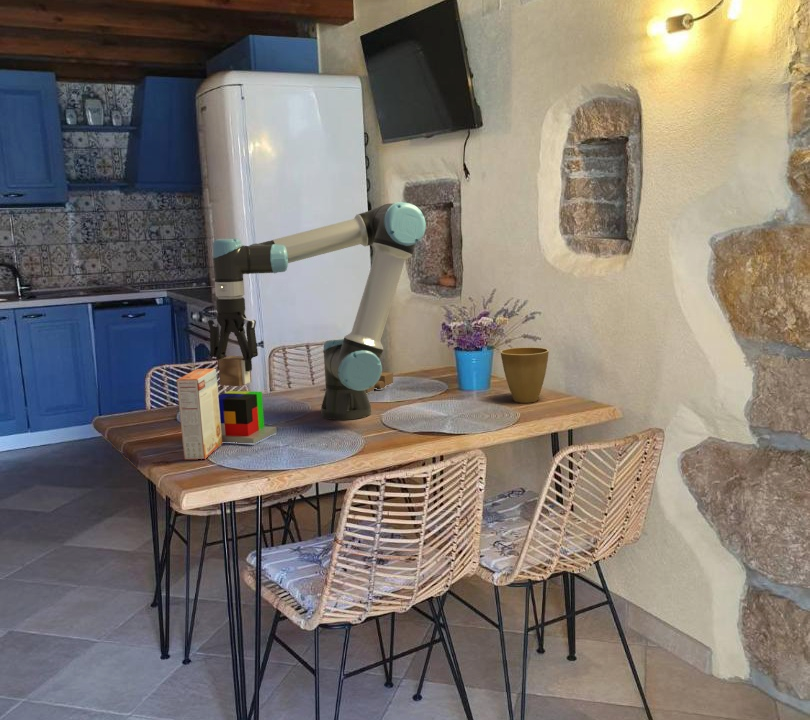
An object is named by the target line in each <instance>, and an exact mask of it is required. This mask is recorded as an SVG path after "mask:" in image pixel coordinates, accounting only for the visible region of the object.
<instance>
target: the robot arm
mask: <svg viewBox="0 0 810 720" xmlns="http://www.w3.org/2000/svg"><path fill="white" fill-rule="evenodd" d="M426 223H427V222H426V218H425V216H424V214H423V212H422V211H421V209H420V208H419V207H417V206H416V205H414V204H413V203H409V202H405V201H399V202H393V203H385V204H381V205H379V206H377V207H375V208H373V209H370V210H367V211H365V212H364V211H363V212H361V213H358V214H356V215H355V216H354V217H353V218H351V219H348V220H344V221H341V222H336V223H332V224H329V225H324V226H321V227H317V228H312V229H310V230H305V231H302V232H298V233H294V234H290V235H286V236H282V237H278V238H275V239H271V240H268V241H263V242H259V243H252V244H249V245H243V244H242V240H241V239H240V238H218V239H215V240H213V242H212V264H213V276H214V291H215V297H217V299H216V300H215V307H216V312H217V316H216V318H214V319H210V320H208V321H207V324H208V327H209V338H210V339H209V345H210V347H209V348H210V349H209V350H210V351H209V353H210V356H211V357H214V358H216V359H217V369H218V370H219V361H218V360H219V359H222V358H226V357H227V355H226V352H227V348H228V344H229V338H230V335H231V333H233V334H234V336H235V338H236V339H237V343H238V346H239V350H240V352H241V355H242V356H243V359H242V360H241V366H242V381H243V384H244V385H247V384H251V382H250V371H251V372H252V370H253V362H252V359H254V358H256V357H258V355H259V353H258V351H259V350H258V343H257V335H256V326H257V325H256V324H257V321H256V320H255V319H249V318H247V316H246V313H245V312H246V300H245V297H244V296H245V283H244V275H250V274H251V275H253V274H278V273H284V272H286V271H287V270H288V267H289V264H290V263H294V262H297V261H301V260H306V259H310V258H313V257H317V256H320V255H325V254H328V253H332V252H336V251H340V250H344V249H348V248H351V247H356V246H358V245H362V246H363V247H368V246H373V247H374V250H375V254H374V257H373V260H372V263H371V266H370V270H369V273H368V275H367V280H366V283H365V286H364V289H363V292H362V297H361V299H360V302H359V306H358V310H357V313H356V316H355V320H354V322H353V325H352V330H351V332H350V333H348V334H346V335H344V338H341V339H330V340H325V342H324V343H323V351H322V353H323V364H324V365H323V366H324V380H325V381H324V382H325V391H324V396H323V400H322V404H321V407H320V408H321V409H320V415H321V417H322V418H324V419H327V420H335V421H337V420H338V421H340V420H341V421H343V420H346V421H347V420H356V419H363V418H365V417H368V416H370V415H371V414H372V405H371V403H370V400H369V397H368V395H367V394H366V391H365V390H367V389H369V388H371V387H373V386H374V385H375V384H376V383H377V382H378V380H379V379H380V376H381V373H382V372H383V367H382V362H381V359H382V356H383V351H384V346H383V344H382V341H381V340H382V336H383V333H384V331H385V327H386V324H387V320H388V317H389V314H390V311H391V307H392V305H393V301H394V298H395V294H396V291H397V288H398V284H399V282H400V278H401V275H402V272H403V268H404V265H405V262H406V261H407V260H408V259H409V258H411V257H413V254H414V250H415V247H416V244H417V243H419V242H420V241H421V240H422V239H423V238H424V235H425V233H426V230H427V229H426V226H427V224H426ZM219 326H220V327H219ZM244 326H245V327H244Z"/></svg>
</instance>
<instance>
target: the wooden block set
mask: <svg viewBox="0 0 810 720" xmlns="http://www.w3.org/2000/svg"><path fill="white" fill-rule="evenodd" d="M391 383H393V384H394V373H393V372H385V371H382V373H381V376H380V379H379V380H378V382H377V383H376V384H375V385H374V386H373V387H371V388H369V389H367V390H365V391H366V393H368V392H370V391H373V390H374V388H377V389H381V388H384V387H385V386H386V385H389V384H391ZM384 389H385V388H384Z"/></svg>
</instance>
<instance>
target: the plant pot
mask: <svg viewBox="0 0 810 720" xmlns="http://www.w3.org/2000/svg"><path fill="white" fill-rule="evenodd" d="M549 352H550V351H549V349H548V348H544V347H533V346H530V347H527V346H526V347H525V346H524V347H511V348H505V349H502V350H500V357H501V363H502V367H503V372H504V376H505V378H506V383H507V385H508V389H509V392H510V394H511V396H512V399H513V401H514V402H516V403H520V404H521V403H522V404H524V403H525V404H529V403H531V404H532V403H534V402H537V401H538V400H539V397H540V395H541V392H542V389H543V385H544V381H545V377H546V374H547V373H546V372H547V367H548V363H549V362H548V360H549Z"/></svg>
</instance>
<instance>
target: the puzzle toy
mask: <svg viewBox="0 0 810 720" xmlns="http://www.w3.org/2000/svg"><path fill="white" fill-rule="evenodd" d="M218 398H219V409H220V421H221V432H222V435H226V436H250V435H251V434H253V433H255V432H256V431H258V430H260V429H262V428H263V427H264V426H265V421H264V420H265V417H264V404H263V391H249V390H247V391H245V390H243V391H239V390H228V391H226V392H223V393H221V394H218Z"/></svg>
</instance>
